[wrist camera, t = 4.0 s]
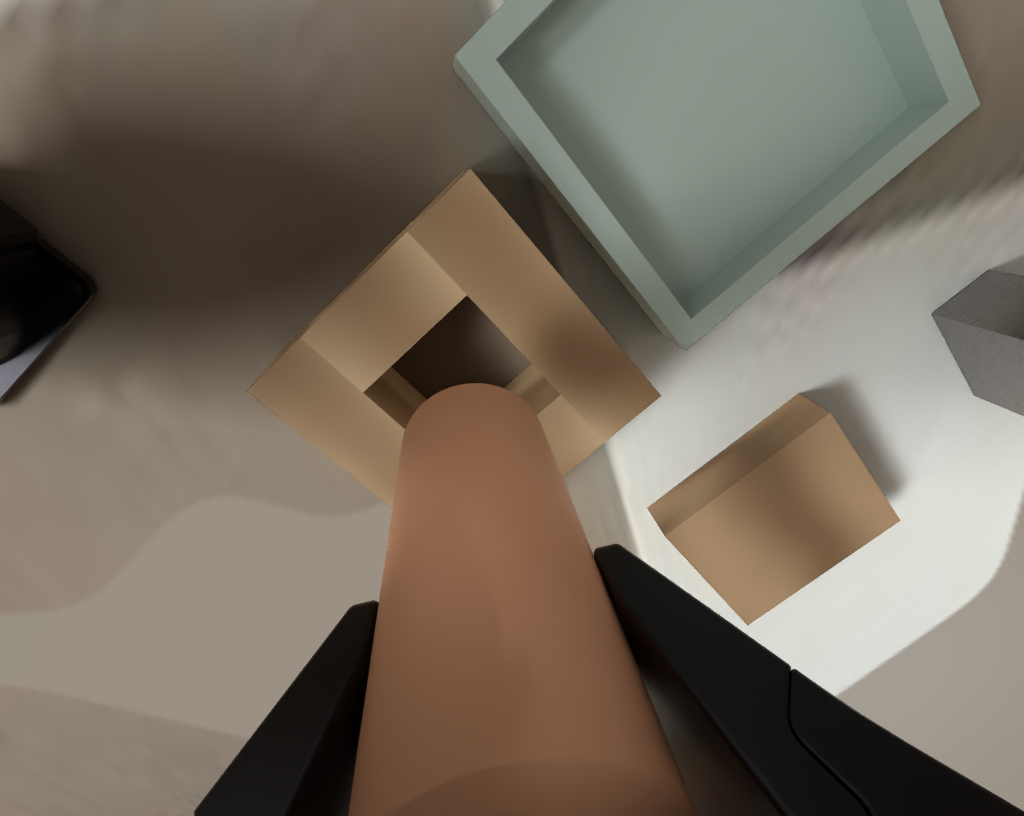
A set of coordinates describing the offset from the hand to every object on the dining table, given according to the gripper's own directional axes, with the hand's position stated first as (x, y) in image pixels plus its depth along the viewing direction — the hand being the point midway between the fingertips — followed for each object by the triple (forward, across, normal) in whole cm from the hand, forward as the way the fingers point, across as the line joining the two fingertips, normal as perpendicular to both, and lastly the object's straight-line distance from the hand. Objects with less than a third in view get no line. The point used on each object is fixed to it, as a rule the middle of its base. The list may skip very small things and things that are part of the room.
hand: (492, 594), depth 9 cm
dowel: (+5, 0, 0) cm, 5 cm away
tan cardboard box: (+13, -12, +10) cm, 20 cm away
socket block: (+13, 0, 0) cm, 13 cm away
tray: (+13, -10, -7) cm, 18 cm away
